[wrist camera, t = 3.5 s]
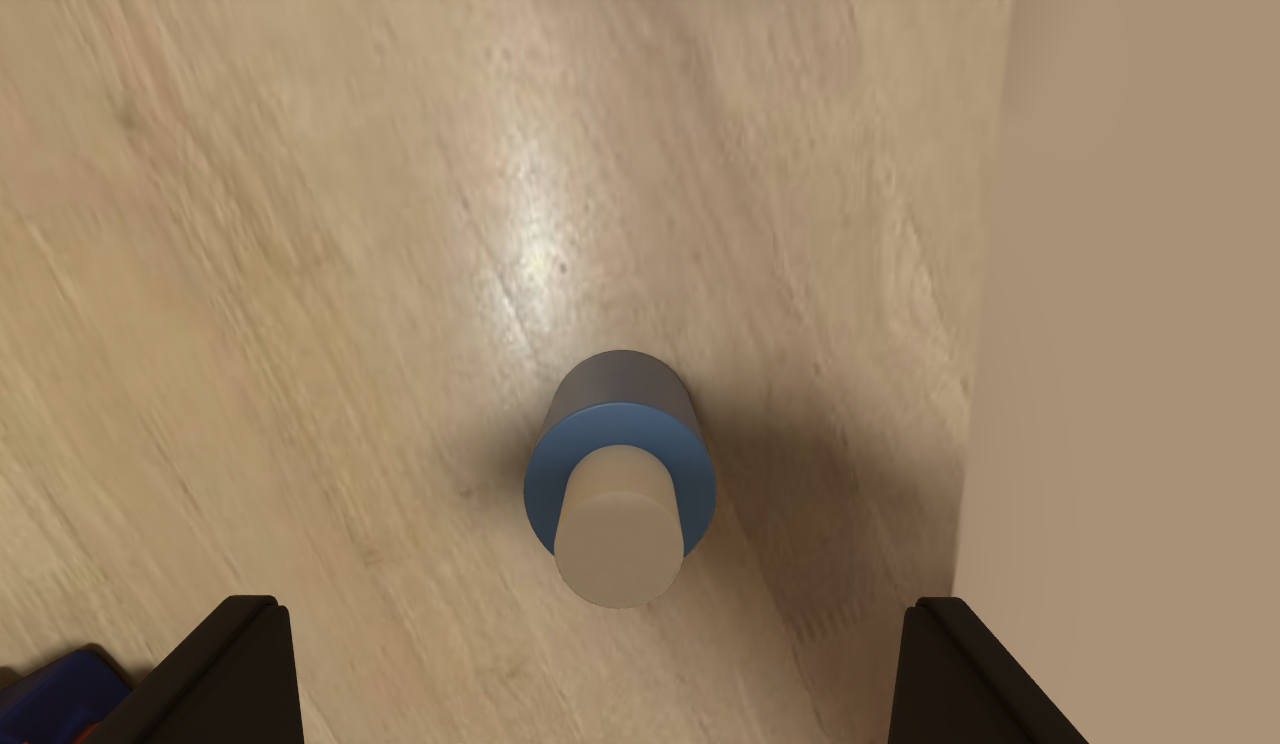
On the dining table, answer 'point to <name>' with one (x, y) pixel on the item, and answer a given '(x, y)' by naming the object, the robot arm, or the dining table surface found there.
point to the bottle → (620, 479)
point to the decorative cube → (60, 701)
